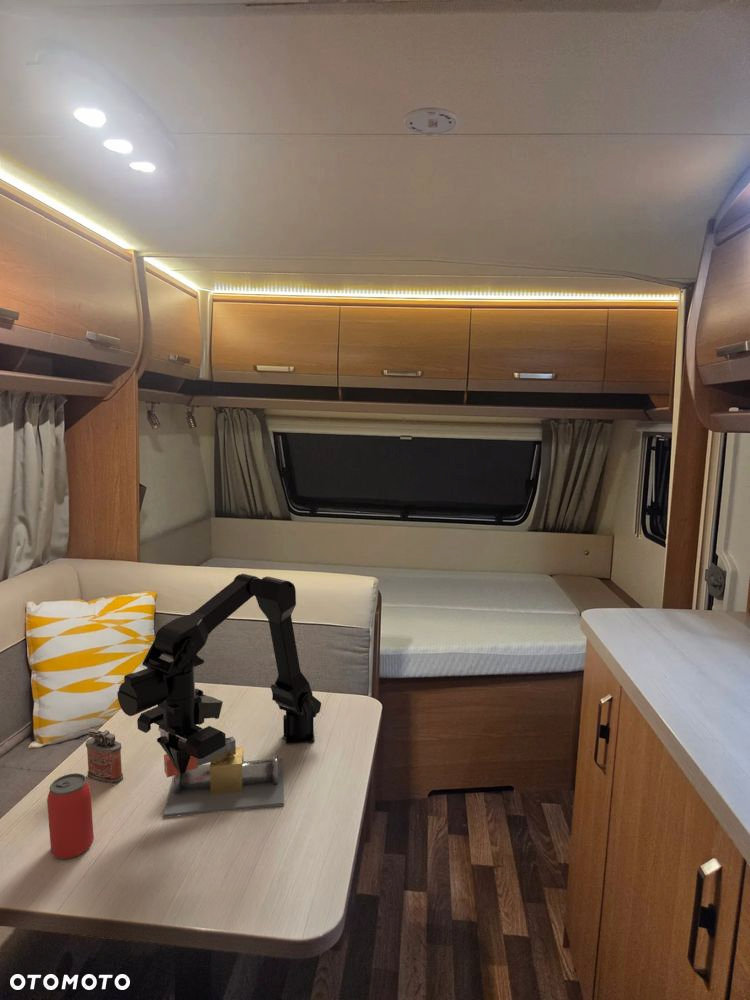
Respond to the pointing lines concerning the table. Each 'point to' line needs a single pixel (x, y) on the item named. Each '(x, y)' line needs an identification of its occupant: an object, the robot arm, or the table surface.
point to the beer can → (70, 816)
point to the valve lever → (194, 762)
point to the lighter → (104, 757)
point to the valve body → (228, 774)
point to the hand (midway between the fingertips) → (182, 773)
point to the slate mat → (226, 797)
